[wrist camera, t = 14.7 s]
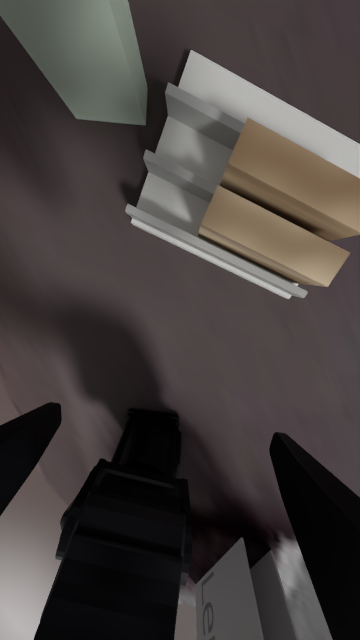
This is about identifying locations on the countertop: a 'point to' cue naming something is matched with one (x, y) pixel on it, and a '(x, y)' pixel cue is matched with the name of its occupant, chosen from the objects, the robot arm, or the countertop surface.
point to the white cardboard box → (243, 600)
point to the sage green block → (84, 54)
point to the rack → (220, 159)
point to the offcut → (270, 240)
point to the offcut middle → (293, 183)
